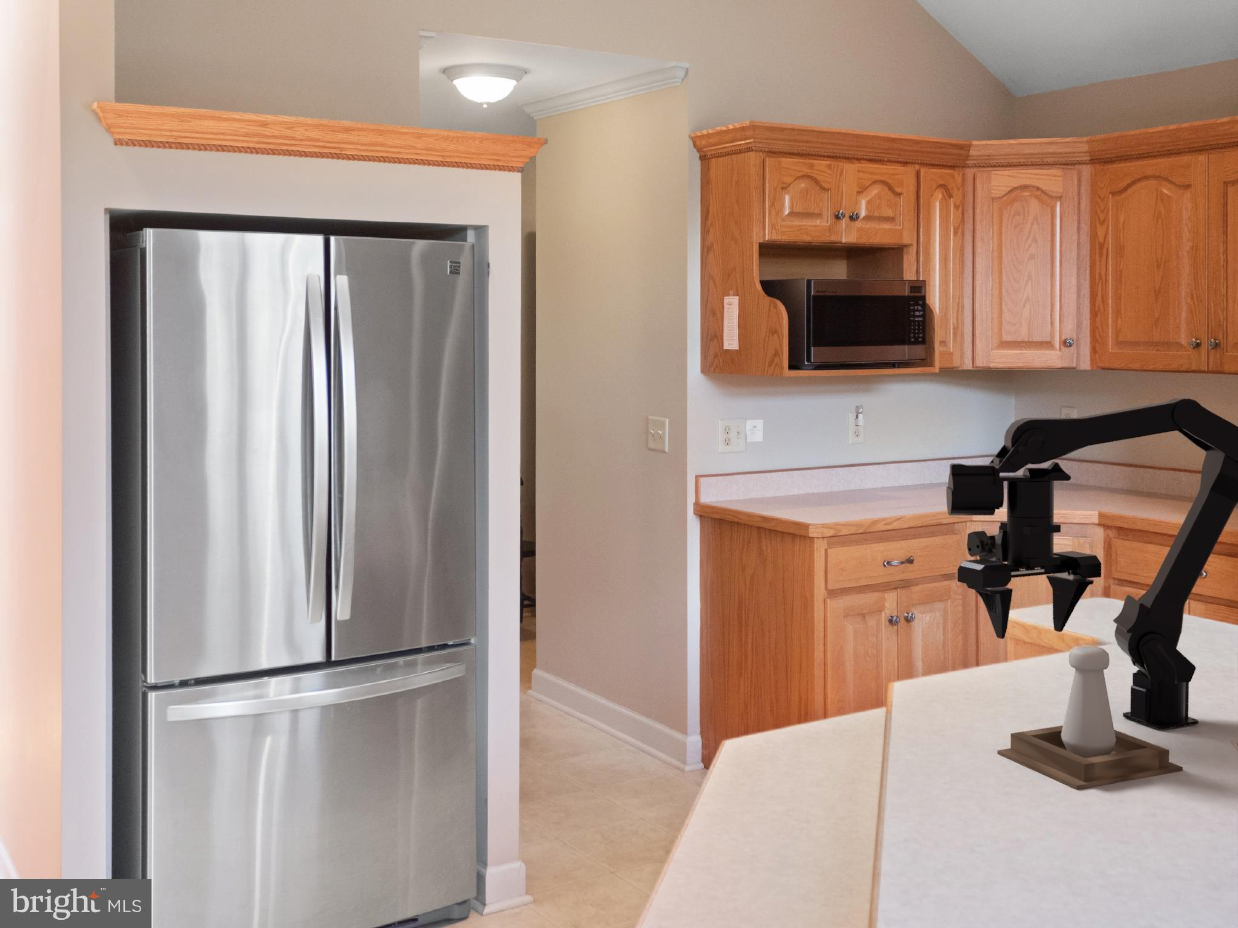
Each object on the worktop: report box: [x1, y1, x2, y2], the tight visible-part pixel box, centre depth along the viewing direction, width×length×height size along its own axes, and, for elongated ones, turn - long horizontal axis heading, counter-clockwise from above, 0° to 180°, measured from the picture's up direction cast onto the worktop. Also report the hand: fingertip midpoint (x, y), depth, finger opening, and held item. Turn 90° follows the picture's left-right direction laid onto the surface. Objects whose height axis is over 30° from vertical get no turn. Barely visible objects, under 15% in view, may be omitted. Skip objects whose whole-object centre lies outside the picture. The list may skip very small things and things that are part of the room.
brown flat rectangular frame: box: [996, 724, 1184, 790], centre depth 133 cm, size 15×13×2 cm
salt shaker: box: [1061, 644, 1116, 758], centre depth 132 cm, size 6×6×13 cm
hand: (1029, 634), depth 149 cm, fingers open, 9 cm apart
